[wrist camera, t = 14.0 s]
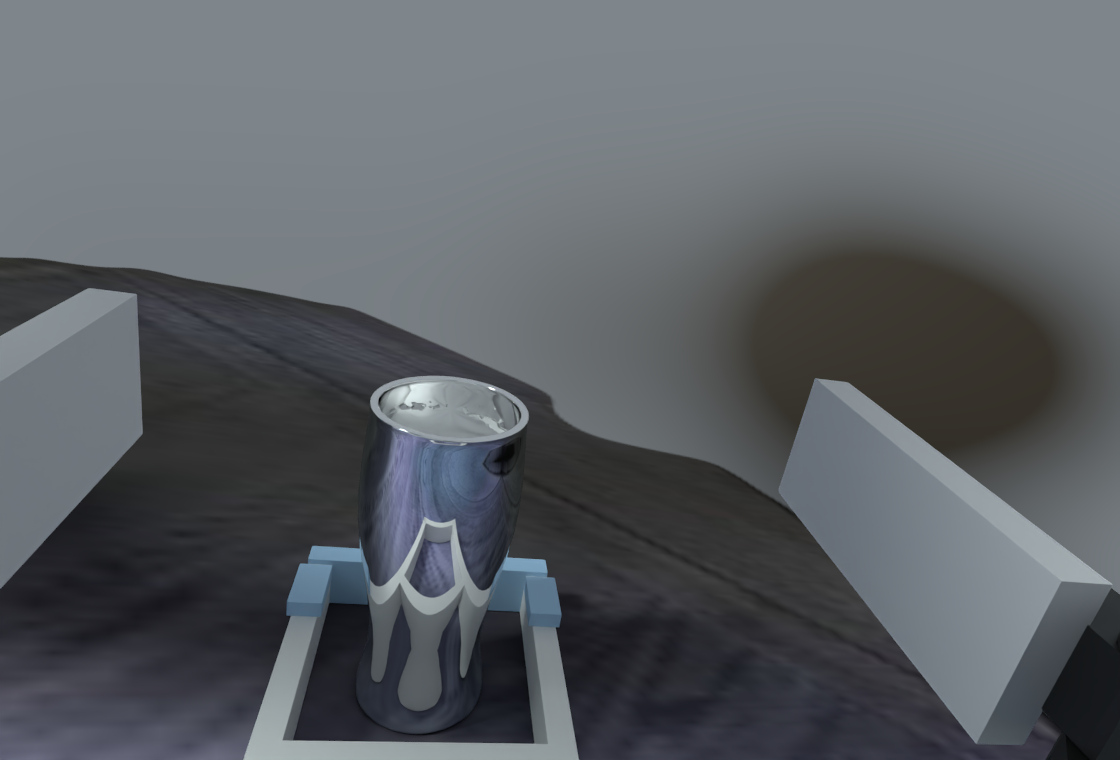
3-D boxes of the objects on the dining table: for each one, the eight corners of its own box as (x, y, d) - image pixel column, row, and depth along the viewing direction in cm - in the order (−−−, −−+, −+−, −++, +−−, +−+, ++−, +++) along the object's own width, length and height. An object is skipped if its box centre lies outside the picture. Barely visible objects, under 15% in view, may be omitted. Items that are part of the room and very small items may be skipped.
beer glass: (488, 637, 38) (528, 382, 33) (492, 745, 32) (540, 450, 27) (357, 631, 37) (376, 366, 32) (332, 742, 31) (351, 433, 26)
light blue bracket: (551, 665, 37) (561, 614, 36) (285, 656, 35) (286, 601, 34) (541, 599, 42) (549, 552, 41) (306, 587, 40) (309, 538, 39)
